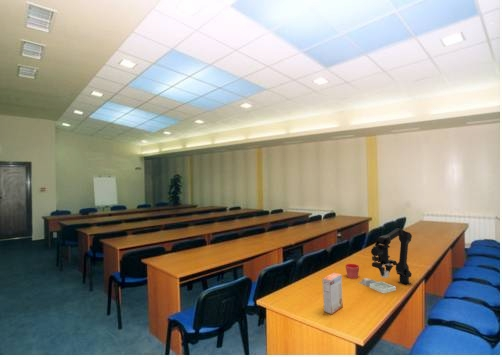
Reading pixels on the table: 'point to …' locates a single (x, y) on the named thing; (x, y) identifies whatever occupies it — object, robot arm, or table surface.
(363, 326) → the table surface
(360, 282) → the lid board
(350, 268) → the flower pot
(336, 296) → the cracker box
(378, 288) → the tray
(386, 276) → the light grey cube
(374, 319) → the table surface
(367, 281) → the grey cube
